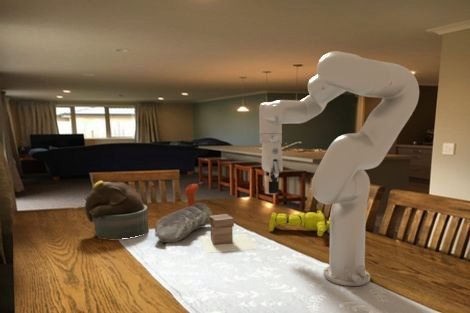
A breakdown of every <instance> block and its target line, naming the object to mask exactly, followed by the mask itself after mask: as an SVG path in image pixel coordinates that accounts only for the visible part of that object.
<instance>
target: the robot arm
mask: <svg viewBox="0 0 470 313" xmlns="http://www.w3.org/2000/svg"><path fill="white" fill-rule="evenodd" d="M307 91H308V94H309V95H307V96H306V97H304V98H302V99H301V100H291V99H290V100H289V99H278V100H274V101H268V102H262V103H260V105H259V109H258V110H259V111H258V113H259V144H261V169H262V170H263V171H264V180H265V176H266V175H269V179H270V182H269V193H277V194H278V193H279V175H280V173H282V172H283V170H284V168H283V167H284V166H283V165H284V164H283V151H282V143H283V140H282V138H283V136H282V135H283V132H282V131H283V129H282V128H283V126H282V125H284V124H285V125H286V124H303V123H306V122H308V121H310V120H311V119H313V118H315V117H317V116H318V115H320V114H322V112H323V111H324V110H325V109H326V107H327V104H328V103H329V102H330V101H333V100H334V99H335V98H337V97H339V96H340V95H342V94H344V93H346V92H348V93H352V94H354V95H358V96H361V97H362V96H363V97H367V98H379V99H381V101H380V103H378V104H377V106H376V107H375V108H373V110H372V111H371V112H370V113H369V115H368V116H367V118H366V120H365V122H364V123H363V125H362V126H361V128H360V130H358V131H357V132H355V133H351V132H350V133H345V134H342V135H340V136H338V137H336V138H335V139H334V140H333V141H332V142H331V144H330V145H329V147H328V148H327V150H326V152H325V154H324V156H323V157H322V159H321V161H320V162H319V164H318V166H317V168H316V170H315V172H314V175H313V177H312V180H311V193H312V196H313V197H314V199H315V200H316V201H317V202H319V203H320V204H323V205H331V208H330V214H329V217H330V233H329V257H328V258H329V262H328V264H329V266H327V267H325V268H324V270H323V276H324V277H325V279H326V280H328V281H329V282H331V283H334V284H335V285H336V284H337V285H340V286H346V287H347V286H348V287H351V286H352V287H357V286H358V287H360V286H363V285H367V284H368V283H369V282H370V281H371V274H370V273H369V272H368V271H366V265H365V263H366V262H365V261H366V259H365V257H366V223H367V207H368V206H367V205H368V201H369V196H370V189H371V182H370V181H371V180H370V177H369V175H368V173H367V172H366V171H365V170H370V169H371V170H372V169H375V168H377V167H378V166H379V165H380V164H382V162H383V160H384V159H385V157H386V156H387V154H388V152H389V151H390V149H391V148H392V146H393V144H394V142H395V141H396V140H397V138H398V136H399V134H400V133H401V131H402V130H403V128H404V127H405V125H406V124H407V123H408V121H409V120H410V117H411V116H412V115H413V112H414V111H415V109H416V107H417V105H418V102H419V99H420V98H419V97H420V87H419V82H418V81H417V78H416V76H415V75H414V73H413V72H412V71H411V70H410V69H408V68H407V67H405V66H404V65H403V66H402V65H401V64H398V63H393V62H389V61H387V62H386V61H380V60H376V59H369V58H365V57H361V56H360V55H358V54H354V53H350V52H343V51H338V50H334V51H333V50H332V51H330V52H327V53H326V54H324V55H323V56H322V57H321V58H320V59H319V61H318V63H317V66H316V75H315V76H313V77H311V78H310V79H309V81H308V83H307Z"/></svg>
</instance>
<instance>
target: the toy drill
mask: <svg viewBox="0 0 470 313" xmlns="http://www.w3.org/2000/svg"><path fill="white" fill-rule="evenodd" d="M202 184H203V181H201V182H199V183H198V182H197V183H192V184H188V186H187V187H186V188H185V191H184V194H185V197H187V207H190V206H192V205H194V204H196V203H195V197H194V196H195V195H196V194H197V192H198V190H199V188H200V187H201V185H202Z"/></svg>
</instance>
